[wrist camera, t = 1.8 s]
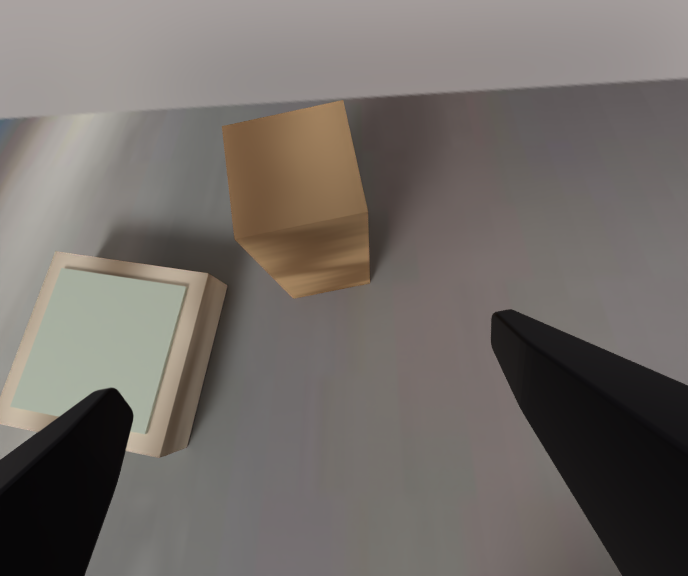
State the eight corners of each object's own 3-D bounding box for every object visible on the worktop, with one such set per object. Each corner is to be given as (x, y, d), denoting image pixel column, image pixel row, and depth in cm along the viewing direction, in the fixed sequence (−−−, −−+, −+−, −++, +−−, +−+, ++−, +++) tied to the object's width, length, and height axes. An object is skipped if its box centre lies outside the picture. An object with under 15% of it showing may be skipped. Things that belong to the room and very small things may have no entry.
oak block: (355, 213, 24) (343, 100, 14) (370, 283, 22) (367, 211, 13) (282, 227, 24) (221, 126, 14) (293, 298, 23) (234, 239, 13)
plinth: (227, 285, 23) (206, 272, 20) (187, 447, 21) (156, 458, 18) (90, 265, 24) (52, 250, 21) (37, 416, 22) (-14, 422, 19)
